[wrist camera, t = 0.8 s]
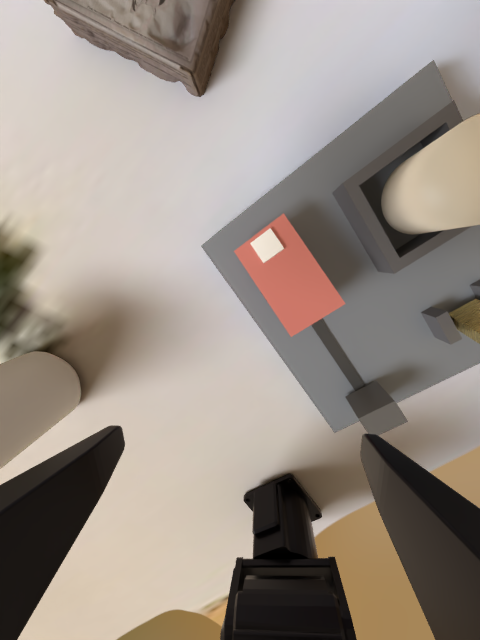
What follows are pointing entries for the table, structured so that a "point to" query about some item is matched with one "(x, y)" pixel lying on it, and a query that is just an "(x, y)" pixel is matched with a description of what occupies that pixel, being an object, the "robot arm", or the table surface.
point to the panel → (367, 261)
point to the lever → (468, 319)
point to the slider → (376, 409)
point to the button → (437, 184)
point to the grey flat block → (154, 33)
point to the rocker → (288, 276)
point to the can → (33, 399)
